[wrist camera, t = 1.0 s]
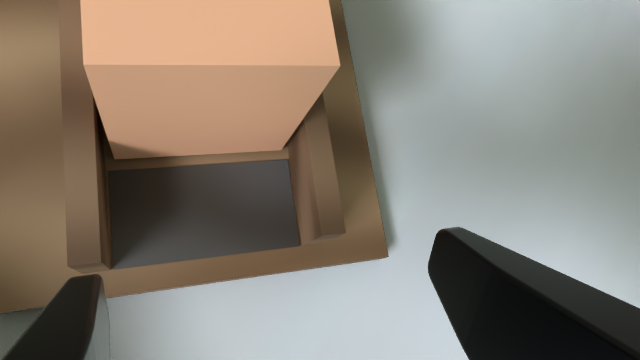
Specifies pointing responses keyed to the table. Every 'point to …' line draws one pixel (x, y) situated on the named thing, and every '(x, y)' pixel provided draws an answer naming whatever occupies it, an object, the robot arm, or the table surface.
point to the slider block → (205, 72)
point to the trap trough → (164, 182)
